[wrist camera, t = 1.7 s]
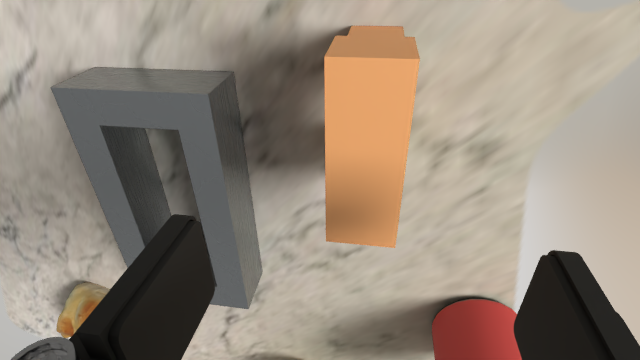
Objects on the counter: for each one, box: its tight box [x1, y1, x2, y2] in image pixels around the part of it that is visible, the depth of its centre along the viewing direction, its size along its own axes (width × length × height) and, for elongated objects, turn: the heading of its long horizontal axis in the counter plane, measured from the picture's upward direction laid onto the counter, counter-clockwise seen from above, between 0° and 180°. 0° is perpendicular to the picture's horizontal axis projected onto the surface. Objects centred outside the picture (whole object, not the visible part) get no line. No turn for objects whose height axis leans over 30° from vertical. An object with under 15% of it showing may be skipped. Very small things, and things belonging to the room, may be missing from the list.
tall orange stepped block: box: [324, 26, 420, 248], centre depth 17 cm, size 8×3×8 cm, turn 1°
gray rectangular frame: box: [51, 67, 262, 309], centre depth 24 cm, size 16×8×4 cm, turn 1°
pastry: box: [57, 282, 110, 338], centre depth 35 cm, size 9×7×4 cm
